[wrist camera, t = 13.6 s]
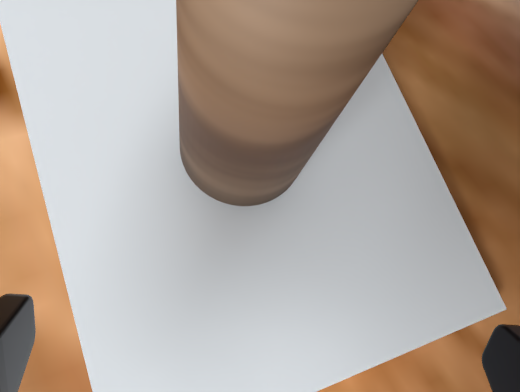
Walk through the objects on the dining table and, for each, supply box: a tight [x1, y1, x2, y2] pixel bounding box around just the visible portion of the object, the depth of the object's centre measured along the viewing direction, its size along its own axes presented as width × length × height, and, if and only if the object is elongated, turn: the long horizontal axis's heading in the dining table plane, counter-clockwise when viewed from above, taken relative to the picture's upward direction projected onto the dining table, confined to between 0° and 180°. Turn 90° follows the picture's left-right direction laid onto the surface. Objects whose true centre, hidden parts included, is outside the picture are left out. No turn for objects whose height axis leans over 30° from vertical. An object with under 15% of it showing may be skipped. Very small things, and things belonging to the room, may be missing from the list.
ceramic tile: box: [0, 0, 507, 392], centre depth 20 cm, size 20×16×1 cm
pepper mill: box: [176, 0, 418, 206], centre depth 12 cm, size 5×5×14 cm
